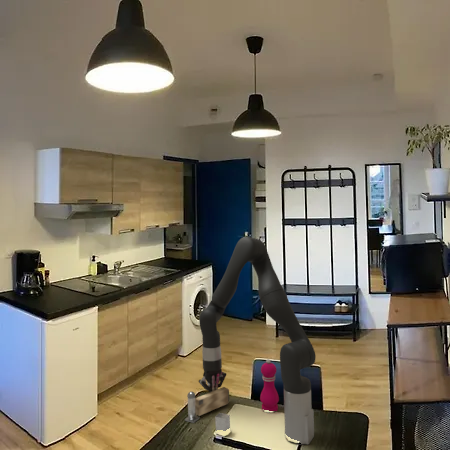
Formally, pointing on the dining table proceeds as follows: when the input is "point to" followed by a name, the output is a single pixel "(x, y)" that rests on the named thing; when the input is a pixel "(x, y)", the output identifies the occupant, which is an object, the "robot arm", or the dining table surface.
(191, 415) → the hinge post
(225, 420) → the grey block
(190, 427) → the dining table surface
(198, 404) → the gate
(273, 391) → the pepper mill
